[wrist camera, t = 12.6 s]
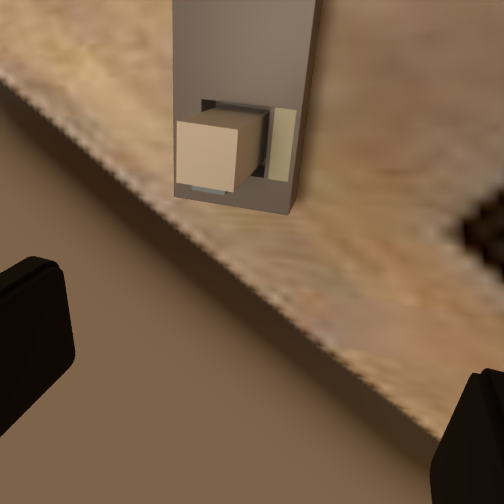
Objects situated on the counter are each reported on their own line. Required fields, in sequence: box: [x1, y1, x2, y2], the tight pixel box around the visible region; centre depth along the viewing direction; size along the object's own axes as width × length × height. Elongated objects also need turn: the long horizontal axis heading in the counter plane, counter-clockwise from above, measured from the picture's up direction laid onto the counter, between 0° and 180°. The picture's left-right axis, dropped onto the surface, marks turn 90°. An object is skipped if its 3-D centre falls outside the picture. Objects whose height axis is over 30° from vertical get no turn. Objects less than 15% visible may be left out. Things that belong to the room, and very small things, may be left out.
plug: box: [176, 104, 270, 195], centre depth 31 cm, size 4×5×10 cm
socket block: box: [172, 0, 322, 215], centre depth 31 cm, size 10×24×4 cm, turn 175°
